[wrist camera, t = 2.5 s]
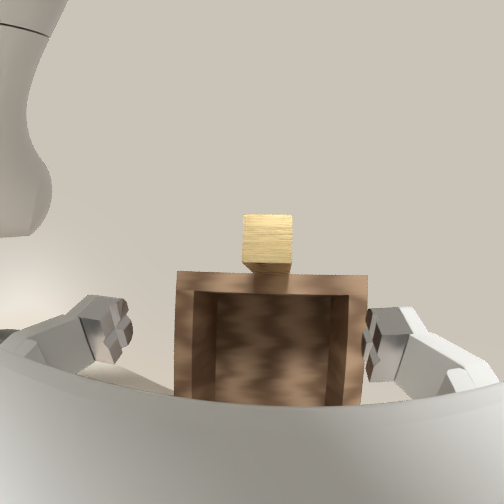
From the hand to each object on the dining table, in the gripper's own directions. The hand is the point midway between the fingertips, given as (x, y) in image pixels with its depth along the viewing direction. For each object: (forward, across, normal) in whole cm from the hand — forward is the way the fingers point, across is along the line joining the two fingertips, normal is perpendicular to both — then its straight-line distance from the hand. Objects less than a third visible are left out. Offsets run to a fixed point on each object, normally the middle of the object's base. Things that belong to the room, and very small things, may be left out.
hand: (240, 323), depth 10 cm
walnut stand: (+13, 0, +34) cm, 36 cm away
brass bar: (+22, 0, +9) cm, 24 cm away
